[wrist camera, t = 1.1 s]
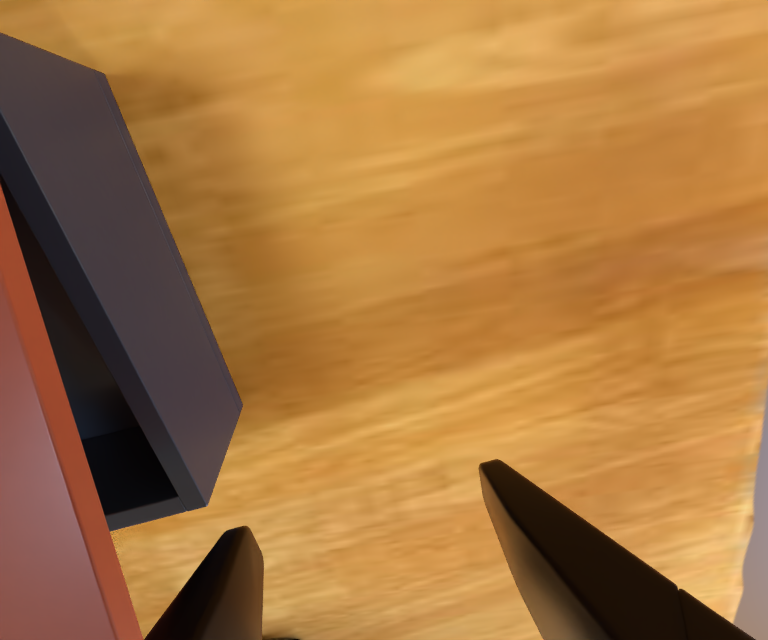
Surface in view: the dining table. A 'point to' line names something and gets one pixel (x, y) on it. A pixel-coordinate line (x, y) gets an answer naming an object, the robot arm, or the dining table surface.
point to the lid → (47, 487)
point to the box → (111, 291)
